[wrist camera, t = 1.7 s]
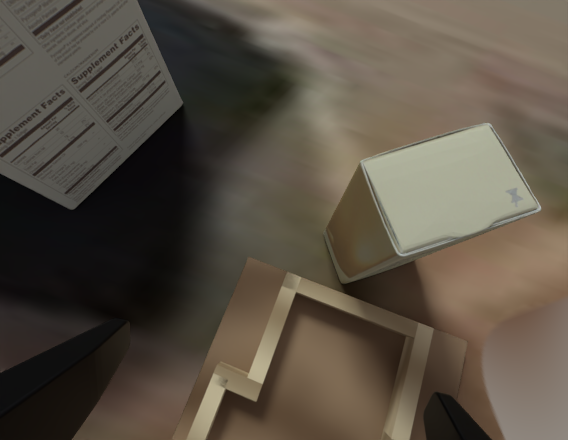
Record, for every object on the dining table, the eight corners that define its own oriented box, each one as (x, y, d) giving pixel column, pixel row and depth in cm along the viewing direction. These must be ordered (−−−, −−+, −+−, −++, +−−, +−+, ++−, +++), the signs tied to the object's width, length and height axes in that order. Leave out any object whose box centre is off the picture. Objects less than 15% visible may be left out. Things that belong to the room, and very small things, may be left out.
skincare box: (392, 210, 25) (497, 115, 13) (415, 261, 23) (554, 208, 12) (317, 233, 24) (356, 155, 12) (337, 287, 23) (401, 258, 11)
